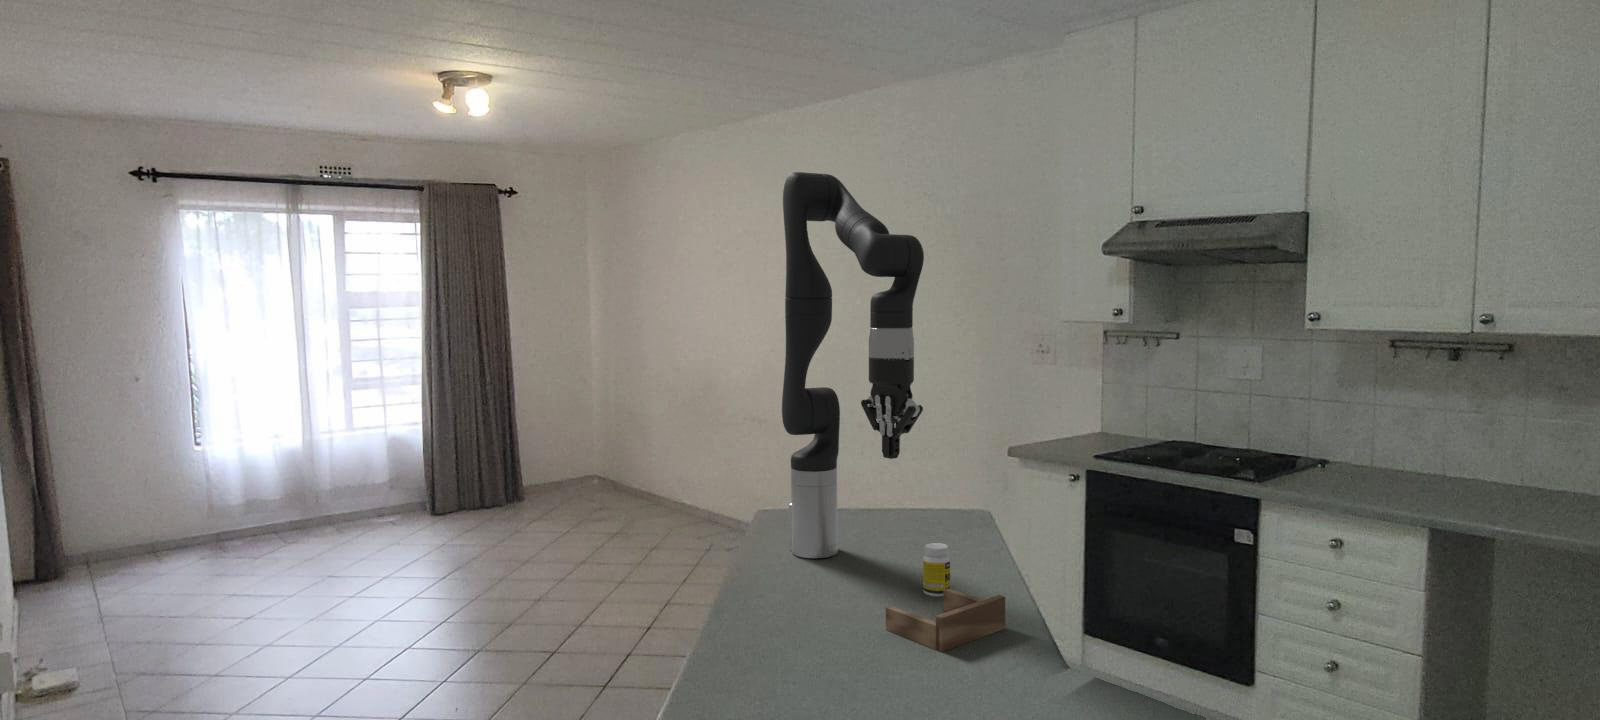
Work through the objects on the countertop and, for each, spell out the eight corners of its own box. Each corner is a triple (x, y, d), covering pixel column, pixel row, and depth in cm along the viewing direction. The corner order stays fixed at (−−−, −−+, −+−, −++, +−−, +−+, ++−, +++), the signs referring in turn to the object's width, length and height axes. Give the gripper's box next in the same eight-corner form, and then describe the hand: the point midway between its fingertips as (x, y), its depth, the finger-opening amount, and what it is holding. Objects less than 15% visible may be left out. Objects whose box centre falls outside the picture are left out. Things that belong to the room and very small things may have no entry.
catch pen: (885, 629, 131) (885, 598, 131) (948, 609, 140) (948, 579, 140) (942, 652, 122) (942, 618, 122) (1005, 628, 131) (1005, 596, 131)
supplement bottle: (950, 598, 146) (949, 550, 145) (922, 596, 147) (922, 548, 146) (950, 589, 150) (950, 542, 150) (923, 588, 151) (923, 541, 151)
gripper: (848, 354, 144) (848, 454, 145) (903, 358, 133) (902, 466, 135) (880, 352, 148) (879, 450, 150) (936, 356, 138) (935, 461, 139)
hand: (890, 457), depth 142 cm, fingers closed
